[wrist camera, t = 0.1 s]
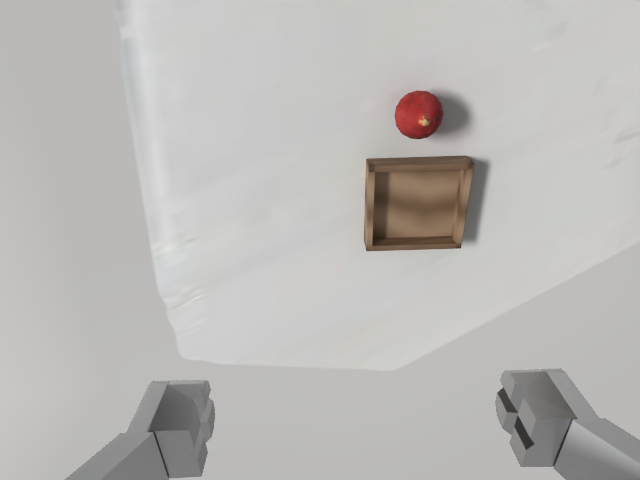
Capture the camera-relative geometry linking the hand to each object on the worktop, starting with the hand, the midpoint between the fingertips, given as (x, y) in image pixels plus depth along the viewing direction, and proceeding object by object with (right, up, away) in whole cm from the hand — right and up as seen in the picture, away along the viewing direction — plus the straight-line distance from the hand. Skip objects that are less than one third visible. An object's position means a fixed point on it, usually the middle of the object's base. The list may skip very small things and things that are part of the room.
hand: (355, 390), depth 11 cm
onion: (+11, +22, +43) cm, 50 cm away
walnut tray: (+13, +10, +49) cm, 52 cm away
